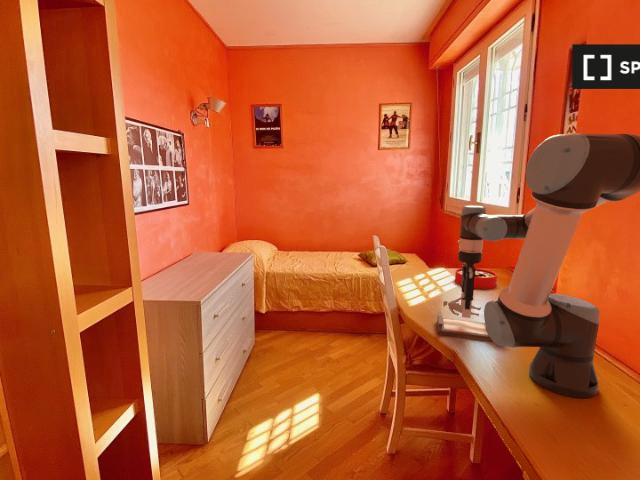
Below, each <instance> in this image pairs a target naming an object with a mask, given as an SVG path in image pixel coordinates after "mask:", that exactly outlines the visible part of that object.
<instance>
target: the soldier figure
mask: <svg viewBox="0 0 640 480" xmlns="http://www.w3.org/2000/svg"><path fill="white" fill-rule="evenodd" d="M461 298H463V297H461V296H460V297H458V298H457V299H456V298H455V299H454V300H450V302H449V301H447V300H443V302H442V303H443V305H442V306H443V307H446V306H448V310H450V312H451V313H452V314H453V315H456V316H457V317H459V315H460V314H462V308H463V306H462V305H461V304H460V303H458V302H460V301H461ZM481 309H482V307H481V306H480V307H476V306H474V305H471V310H477V311H481ZM472 315H473V316H475V317H476V316H477V317H479V316H480V313H477V312H472V311H471V316H472Z"/></svg>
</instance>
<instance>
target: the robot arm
mask: <svg viewBox="0 0 640 480" xmlns="http://www.w3.org/2000/svg"><path fill="white" fill-rule="evenodd" d="M527 161H528V162H527V164H526V169H525V175H526V178H525V181H526V185H527V187H528V189H529V190H530V191H531V197H532V199H533V200H534V201H535V203H536V204H535V207H533V208H532V209H531V210H529V211H528V212H526V213H524V214H487V210H486V209H487V208H486V207H485V206H483V205H464V206H463V207H462V208H461V215H460V227H459V240H457V243H458V249H459V250H458V254H457V261H458V262H460V263H462V267H461V268H462V270H463V271H462V285H460V286H461V287H460V289H461V295H460V297H463V298H461V300H460V305H462V306H463V308H462V313H461V318H466V319H471V316H472V315H471V312H472V309H471V305H472V303H473V301H474V289H475V288H474V279H475V272H476V267H475V265H476V264H480V263H482V258H483V252H482V251H483V249H484V240H485V241H491V242H498V241H500V240H523V243H522V245H521V246H522V247H521V249H520V252H519V256H518V259H517V261H516V264H515V268H514V271H513V273H512V277H511V279H510V283H509V286H507V287H504V288H503V289H501V290H500V292H499V293H498V298H497V300H490V301H488V302H486V303H485V305H484V309H483V318H484V319H483V320H484V323H485V324H486V328H487V331H488V333H489V336H490V337H491V339H492V340H493V341H492V342H494V344H496V345H497V346H499V347H504V348H512V349H513V348H538V350H537V352H536V353H535V355H534V356H533V358H532V360H531V362H530V364H529V368H528V374H529V377H530V378H531V380H533V381H534V382H535V383H536V384H537V385H539V386H541V387H543V388H544V389H546V390H549V391H550V392H552V393H555V394H558V395H562V396H566V397H569V398H577V399H588V398H592V397H595V396H596V395H597V394H598V391H599V380H598V376H597V372H596V367H595V365H594V356H595V349H596V342H597V339H598V338H597V337H598V331H599V325H601V323H600V313H601V312H600V309H599V308H598V307H597V306H596V305H595V304H593V303H592V302H589V301H586V300H584V299H580V298H577V297H574V296H570V295H566V294H562V293H561V294H560V293H552V290H553V288H554V286H555V283H556V280H557V278H558V276H559V273H560V271H561V268H562V265H563V264H564V261H565V259H566V256H567V253H568V251H569V249H570V247H571V244H572V241H573V239H574V237H575V234H576V232H577V229H578V228H579V227H578V226H579V224H580V221H581V219H582V216H583V214H584V213H588V212H589V211H591V210H593V209H595V208H597V207H599V206H601V205H603V204H606V203H608V202H614V203H615V202H620V201H623V200H625V199H628V198H629V197H632V196H634V195H635V194H637V193H639V192H640V135H639V134H638V135H637V134H631V133H616V134H615V133H614V134H613V133H605V134H604V133H576V132H574V133H568V134H556V135H552V136H549V137H548V138H546V139H544V141H542V142H541V143H539V145H537V147H535V148H534V150H533V152H532V153H531V156H530V157H529V159H528V160H527ZM472 306H473V305H472Z"/></svg>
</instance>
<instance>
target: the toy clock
mask: <svg viewBox="0 0 640 480" xmlns="http://www.w3.org/2000/svg"><path fill="white" fill-rule="evenodd" d="M475 268H476V267H475ZM462 271H463V270H462V267H461V268H457V269H455V273H454V282H455V283H456V284H457V283H458V285H459V284H460V285H459V286H462ZM497 280H498V274H497V273H496V272H494V271H490V270H487V269H483V268H476V272H475V279H474V289H479V288H483V290H485V289H493V288H496V287H497Z"/></svg>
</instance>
